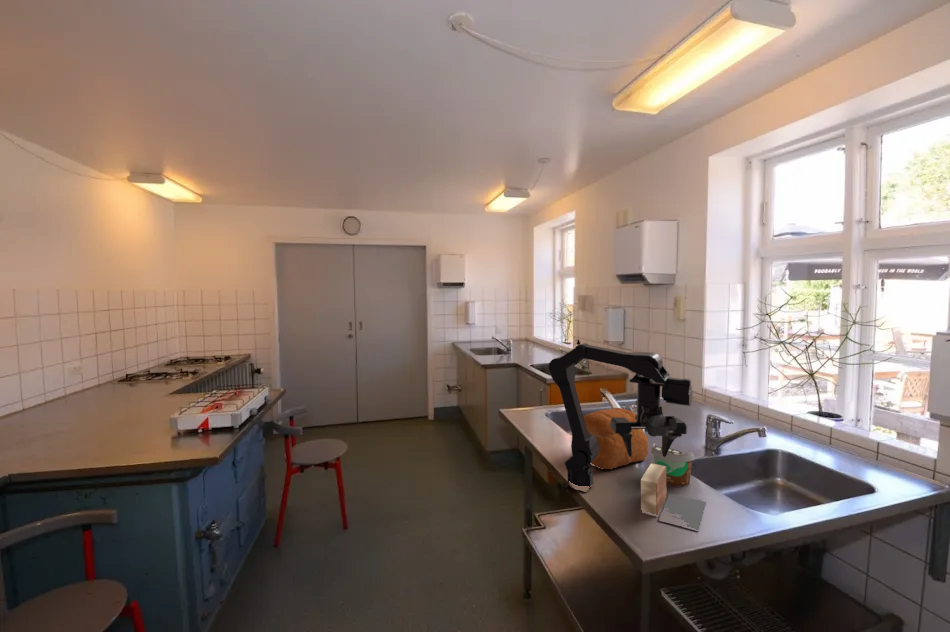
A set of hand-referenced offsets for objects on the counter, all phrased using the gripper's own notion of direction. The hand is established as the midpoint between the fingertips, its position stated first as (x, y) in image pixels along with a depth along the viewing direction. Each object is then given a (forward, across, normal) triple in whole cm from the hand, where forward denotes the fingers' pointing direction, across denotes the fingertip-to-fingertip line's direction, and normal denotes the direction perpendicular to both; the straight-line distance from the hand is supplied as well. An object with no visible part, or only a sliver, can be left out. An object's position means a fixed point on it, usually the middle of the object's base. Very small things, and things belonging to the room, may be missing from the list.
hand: (647, 456), depth 113 cm
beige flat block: (+13, +2, -1) cm, 13 cm away
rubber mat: (+13, +8, -5) cm, 16 cm away
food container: (+13, +12, +12) cm, 21 cm away
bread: (+14, 0, +30) cm, 33 cm away
